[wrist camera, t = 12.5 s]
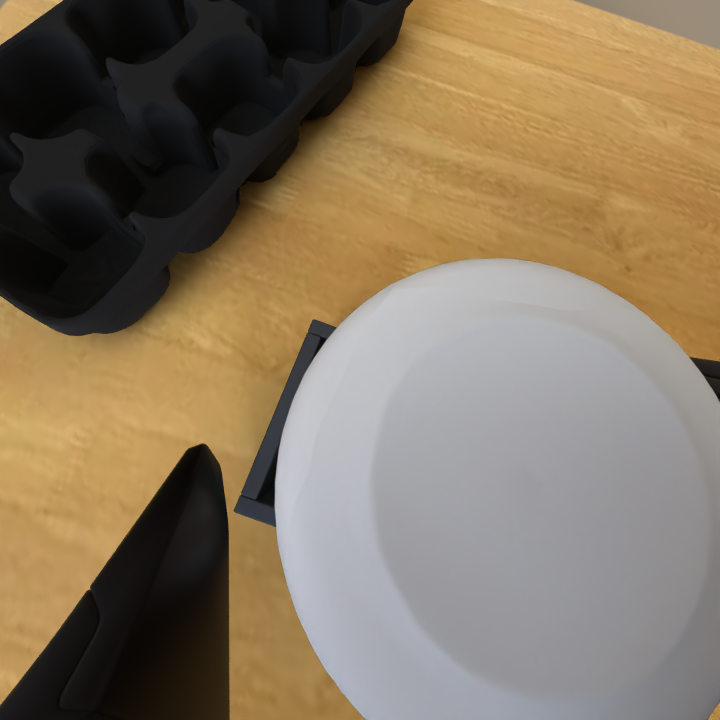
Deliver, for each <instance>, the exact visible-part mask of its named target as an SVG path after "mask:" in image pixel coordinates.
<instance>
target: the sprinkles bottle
mask: <svg viewBox="0 0 720 720" xmlns="http://www.w3.org/2000/svg"><path fill="white" fill-rule="evenodd" d="M275 517H276V529H277V541H278V549H279V553H280V557H281V561H282V566H283V570H284V574H285V578H286V582H287V587H288V589H289V592H290V595H291V598H292V601H293V604H294V607H295V610H296V613H297V615H298V617H299V620H300V622H301V624H302V626H303V628H304V631H305V633H306V635H307V637H308V640H309V642H310V644H311V646H312V648H313V649H314V651H315V653H316V655H317V656H318V658H319V660H320V662H321V663H322V665H323V667H324V668H325V670H326V671H327V672H328V674H329V675H330V676H331V678H332V679H333V680H334V682H335V683H336V684H337V686H338V688H339V690H340V691H341V692H342V693H343V694H344V695H345V697H346V698H347V699H348V700H349V701H350V702H351V704H352V705H353V706H354V707H355V708H356V710H357V711H358V712H359V713H360V714H361V715H362V716H363V717H364V718H365V719H366V720H707V719H708V718H709V717H710V715H711V714H712V712H713V711H714V709H715V708H716V706H717V705H718V703H719V702H720V401H719V400H718V398H717V396H716V394H715V393H714V391H713V390H712V388H711V387H710V385H709V384H708V382H707V381H706V379H705V378H704V376H703V375H702V373H701V372H700V370H699V369H698V368H697V367H696V365H695V364H694V363H693V361H692V360H691V359H690V358H689V356H688V355H687V354H686V353H685V352H684V350H683V349H682V348H681V347H680V346H679V345H678V344H677V343H676V342H675V341H674V340H673V339H672V338H671V337H670V336H669V335H668V334H667V333H666V332H665V331H664V330H663V329H662V328H661V327H660V326H658V325H657V324H656V323H655V322H654V321H653V320H652V319H650V318H649V317H648V316H647V315H646V314H645V313H643V312H642V311H641V310H639V309H638V308H637V307H635V306H634V305H632V304H631V303H630V302H628V301H627V300H626V299H624V298H622V297H620V296H619V295H617V294H615V293H613V292H612V291H610V290H608V289H607V288H605V287H603V286H601V285H600V284H598V283H596V282H593V281H591V280H589V279H586V278H584V277H581V276H579V275H577V274H574V273H572V272H569V271H566V270H563V269H561V268H558V267H555V266H550V265H546V264H541V263H536V262H531V261H527V260H518V259H505V258H491V259H467V260H461V261H455V262H450V263H445V264H441V265H438V266H434V267H431V268H427V269H424V270H422V271H420V272H417V273H415V274H413V275H410V276H408V277H406V278H403V279H401V280H399V281H396V282H394V283H392V284H390V285H389V286H387V287H385V288H384V289H382V290H381V291H379V292H378V293H376V294H375V295H373V296H372V297H371V298H369V299H368V300H366V301H365V302H364V303H363V304H361V305H360V306H359V307H358V308H357V309H356V310H355V311H353V312H352V313H351V314H350V315H349V316H348V317H347V318H346V319H345V320H344V321H343V322H342V323H341V324H340V325H339V326H338V327H337V328H336V329H335V331H334V332H333V333H332V334H331V335H330V336H329V338H328V339H327V340H326V342H325V343H324V344H323V346H322V347H321V349H320V350H319V352H318V353H317V355H316V356H315V357H314V359H313V361H312V362H311V364H310V366H309V367H308V369H307V371H306V372H305V374H304V376H303V378H302V381H301V383H300V385H299V387H298V390H297V392H296V394H295V396H294V399H293V401H292V404H291V407H290V410H289V413H288V416H287V419H286V422H285V425H284V429H283V432H282V437H281V442H280V447H279V452H278V461H277V469H276V478H275Z"/></svg>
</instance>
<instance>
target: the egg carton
mask: <svg viewBox="0 0 720 720" xmlns="http://www.w3.org/2000/svg"><path fill="white" fill-rule="evenodd" d="M412 1H413V0H63V1H62V2H60V3H59V4H58V5H56V6H55V7H53V8H52V9H51V10H49V11H48V12H47V13H45V14H44V15H42V16H41V17H39V18H38V19H37V20H35V21H34V22H33V23H31V24H30V25H28V26H27V27H26V28H24V29H23V30H21V31H20V32H19V33H17V34H16V35H14V36H13V37H12V38H10V39H9V40H7V41H6V42H4V43H3V44H1V45H0V296H1V297H3V298H4V299H6V300H7V301H8V302H10V303H11V304H12V305H14V306H15V307H17V308H18V309H20V310H22V311H23V312H25V313H26V314H28V315H30V316H31V317H33V318H34V319H36V320H38V321H40V322H41V323H43V324H45V325H47V326H49V327H50V328H52V329H54V330H56V331H58V332H61V333H63V334H66V335H71V336H82V335H87V334H91V333H102V334H108V333H114V332H117V331H120V330H123V329H125V328H127V327H129V326H131V325H133V324H134V323H135V322H137V321H138V320H139V319H140V318H141V317H142V316H143V315H144V314H145V313H146V312H147V311H148V310H149V309H150V308H152V307H153V306H154V305H155V304H156V303H157V302H158V300H159V299H160V298H161V296H162V295H163V294H164V292H165V291H166V289H167V287H168V286H169V281H170V273H169V270H168V268H167V266H166V265H167V264H168V263H169V262H170V261H171V260H172V259H173V258H174V256H175V255H176V254H177V253H178V252H185V253H186V252H187V253H195V252H199V251H202V250H204V249H206V248H208V247H210V246H211V245H212V244H213V243H214V242H215V241H216V240H218V238H219V237H220V236H221V235H222V234H223V233H224V231H225V229H226V228H227V226H228V225H229V223H230V222H231V220H232V218H233V217H234V216H235V213H236V211H237V209H238V205H239V204H240V197H241V196H240V188H239V186H240V185H241V184H242V185H244V184H245V183H246V181H252V182H263V181H265V180H268V179H270V178H272V177H273V176H274V175H276V172H277V171H278V170H279V169H280V167H281V166H282V165H283V164H284V163H285V162H286V160H287V159H288V158H289V157H290V155H291V154H292V152H293V151H294V150H295V148H296V147H297V144H298V141H299V130H300V126H301V125H302V122H303V118H304V117H305V118H307V119H319V118H321V117H324V116H327V115H329V114H330V113H331V112H332V111H333V110H334V109H335V108H336V107H337V106H338V105H339V104H340V103H341V102H342V100H343V99H344V98H345V97H346V96H347V94H348V93H349V92H350V90H351V88H352V85H353V79H354V74H355V68H356V64H358V65H366V64H369V65H370V64H374V63H376V62H378V61H379V60H380V59H381V57H382V56H383V55H384V54H385V53H386V52H387V51H388V50H389V49H390V48H391V47H392V46H393V45H394V44H395V42H396V40H397V37H398V34H399V31H400V28H401V25H402V22H403V18H404V14H405V10H406V8H407V7H408V6H409V5H410V3H411V2H412ZM244 181H245V183H244V184H243V182H244ZM242 185H241V186H242ZM237 188H238V190H239V191H238V190H237Z"/></svg>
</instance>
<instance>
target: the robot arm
mask: <svg viewBox="0 0 720 720" xmlns="http://www.w3.org/2000/svg"><path fill="white" fill-rule="evenodd" d="M689 358H690V359H691V360H692V361H693V363H694V364H695V365H696V367H697V368H698V369H699V370H700V372H701V373H702V375H703V376H704V378H705V379H706V381H707V382H708V384H709V385H710V387H711V388H712V390H713V391H714V393H715V394H716V396H717V398H718V400H719V401H720V361H712V360H705V359H698V358H692V357H689ZM90 589H91V590H88V591H86V593H85V594H84V596H83V597H82V598H81V600H80V601H79V603H78V604H77V605H76V607H75V608H74V610H73V611H72V612H71V614H70V615H69V617H68V618H67V619H66V621H65V622H64V623H63V625H62V626H61V628H60V629H59V630H58V632H57V633H56V634H55V636H54V637H53V638H52V640H51V641H50V643H49V644H48V645H47V646H46V648H45V649H44V650H43V652H42V653H41V654H40V655H39V657H38V658H37V659H36V661H35V662H34V663H33V665H32V666H31V667H30V668H29V670H28V671H27V672H26V674H25V675H24V676H23V677H22V679H21V680H20V681H19V683H18V684H17V685H16V686H15V688H14V689H13V690H12V691H11V693H10V694H9V695H8V696H7V698H6V699H5V700H4V701H3V703H2V704H1V705H0V720H230V701H229V530H228V517H227V509H226V501H225V494H224V486H223V478H222V471H221V467H220V465H219V463H218V461H217V459H216V458H215V456H214V455H213V453H212V452H211V450H210V449H209V447H208V446H207V445H206V444H203V443H202V444H199V445H196V446H194V447H191V448H189V449H188V450H187V451H186V452H185V453H184V455H183V456H182V458H181V459H180V460H179V462H178V463H177V465H176V466H175V467H174V469H173V470H172V472H171V473H170V475H169V476H168V477H167V479H166V480H165V482H164V483H163V484H162V486H161V487H160V489H159V490H158V491H157V493H156V494H155V496H154V497H153V499H152V500H151V501H150V503H149V504H148V506H147V507H146V508H145V510H144V511H143V513H142V514H141V515H140V517H139V518H138V520H137V521H136V522H135V524H134V525H133V527H132V528H131V530H130V531H129V532H128V534H127V535H126V537H125V538H124V539H123V541H122V542H121V544H120V545H119V546H118V548H117V549H116V551H115V552H114V554H113V555H112V556H111V558H110V559H109V561H108V562H107V563H106V565H105V566H104V568H103V569H102V570H101V572H100V573H99V575H98V576H97V577H96V579H95V580H94V582H93V583H92V585H91V586H90Z"/></svg>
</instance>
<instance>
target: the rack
mask: <svg viewBox="0 0 720 720" xmlns="http://www.w3.org/2000/svg"><path fill="white" fill-rule="evenodd" d="M335 329H336V327H334V326H331V325H328V324H326V323H323V322H320V321H317V320H315V319H313V320H312V323H311V325H310V328H309V330H308V333H307V335H306V337H305V340H304V342H303V345H302V347H301V350H300V352H299V354H298V357H297V359H296V362H295V364H294V366H293V369H292V371H291V374H290V376H289V379H288V381H287V383H286V386H285V388H284V391H283V393H282V395H281V398H280V400H279V403H278V405H277V408H276V410H275V412H274V415H273V417H272V420H271V422H270V424H269V427H268V429H267V432H266V434H265V437H264V439H263V441H262V444H261V446H260V449H259V451H258V453H257V456H256V458H255V461H254V463H253V466H252V468H251V470H250V473H249V475H248V478H247V480H246V482H245V485H244V487H243V490H242V492H241V494H242V495H240V497H239V499H238V502H237V504H236V506H235V509H234V512H235V513H238V514H241V515H243V516H246V517H249V518H252V519H255V520H257V521H260V522H263V523H266V524H269V525H272V526H274V527H276V517H275V478H276V469H277V461H278V452H279V447H280V442H281V437H282V432H283V429H284V425H285V422H286V419H287V416H288V413H289V410H290V407H291V404H292V401H293V399H294V396H295V394H296V392H297V390H298V387H299V385H300V383H301V381H302V378H303V376H304V374H305V372H306V371H307V369H308V367H309V366H310V364H311V362H312V361H313V359H314V357H315V356H316V355H317V353H318V352H319V350H320V349H321V347H322V346H323V344H324V343H325V342H326V340H327V339H328V338H329V336H330V335H331V334H332V333H333V332H334V331H335Z"/></svg>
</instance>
